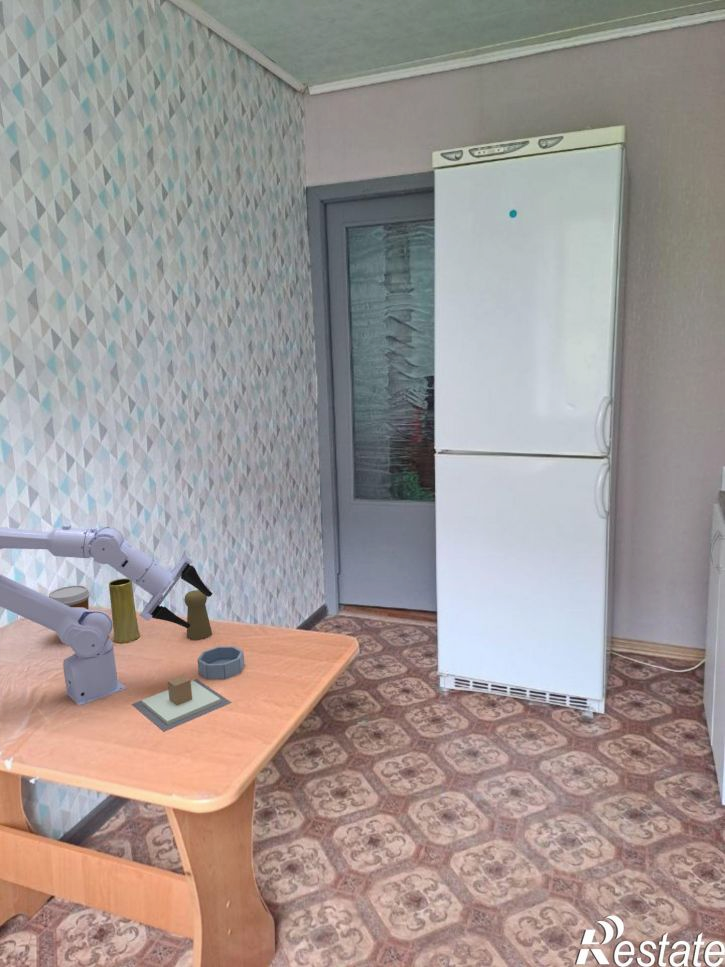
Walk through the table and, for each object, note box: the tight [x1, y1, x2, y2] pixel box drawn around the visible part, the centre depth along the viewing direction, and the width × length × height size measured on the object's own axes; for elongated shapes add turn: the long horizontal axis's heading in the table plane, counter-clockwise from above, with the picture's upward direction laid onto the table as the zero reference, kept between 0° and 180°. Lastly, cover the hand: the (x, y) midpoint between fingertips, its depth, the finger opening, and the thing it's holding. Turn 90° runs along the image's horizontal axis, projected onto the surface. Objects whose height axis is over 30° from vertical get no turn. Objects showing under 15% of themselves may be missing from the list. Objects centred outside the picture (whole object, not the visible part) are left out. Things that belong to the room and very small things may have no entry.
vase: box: [108, 577, 141, 644], centre depth 163 cm, size 6×6×14 cm
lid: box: [141, 674, 221, 725], centre depth 130 cm, size 11×11×5 cm
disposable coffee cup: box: [48, 585, 91, 610], centre depth 165 cm, size 10×10×12 cm
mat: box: [131, 678, 232, 733], centre depth 131 cm, size 14×14×1 cm
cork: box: [184, 589, 213, 641], centre depth 163 cm, size 6×6×11 cm
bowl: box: [196, 645, 246, 680], centre depth 144 cm, size 9×9×4 cm
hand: (199, 610), depth 139 cm, fingers open, 7 cm apart
